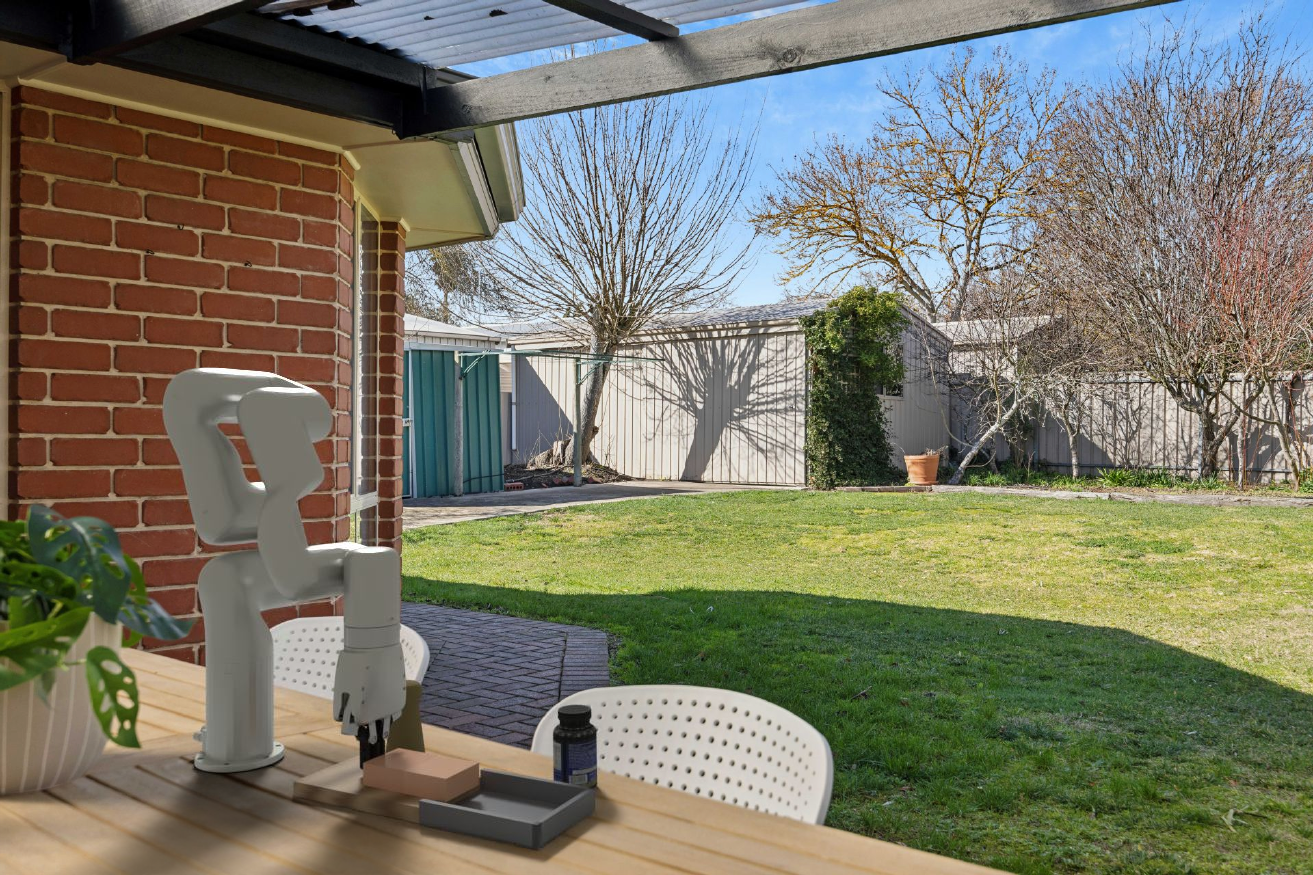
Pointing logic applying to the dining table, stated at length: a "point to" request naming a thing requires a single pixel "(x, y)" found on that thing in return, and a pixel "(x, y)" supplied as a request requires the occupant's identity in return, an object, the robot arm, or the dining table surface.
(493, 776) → the tray
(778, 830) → the dining table surface
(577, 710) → the pill bottle
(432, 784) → the tile front
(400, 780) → the tile rear
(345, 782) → the board
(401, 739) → the cork
